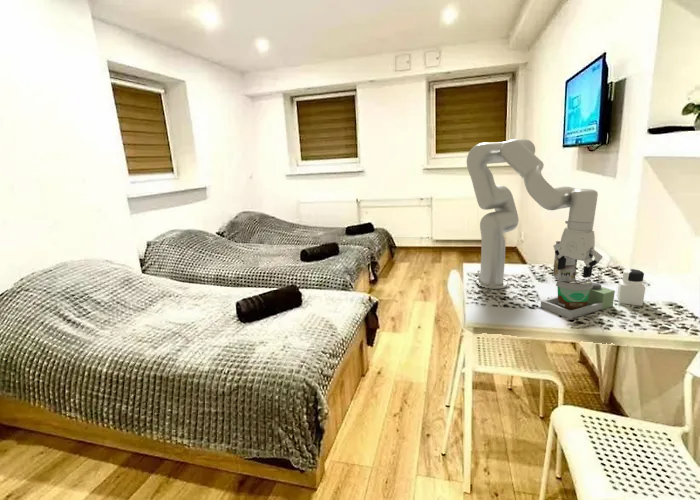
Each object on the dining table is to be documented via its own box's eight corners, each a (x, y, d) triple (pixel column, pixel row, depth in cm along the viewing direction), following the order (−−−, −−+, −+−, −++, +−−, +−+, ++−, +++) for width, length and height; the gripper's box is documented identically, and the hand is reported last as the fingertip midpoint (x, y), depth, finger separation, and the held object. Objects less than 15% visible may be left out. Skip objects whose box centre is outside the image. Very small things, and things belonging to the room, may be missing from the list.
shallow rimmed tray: (540, 306, 138) (542, 289, 136) (581, 295, 146) (583, 278, 144) (570, 319, 127) (572, 299, 125) (612, 306, 135) (615, 288, 134)
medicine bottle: (639, 299, 140) (644, 268, 137) (642, 306, 134) (647, 274, 131) (616, 296, 144) (620, 266, 141) (618, 303, 138) (622, 272, 135)
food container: (563, 312, 131) (566, 285, 128) (553, 306, 137) (556, 280, 134) (598, 310, 131) (601, 283, 129) (587, 304, 137) (590, 278, 135)
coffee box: (575, 281, 161) (579, 245, 157) (559, 281, 162) (562, 245, 158) (568, 275, 170) (571, 240, 166) (552, 274, 171) (555, 240, 167)
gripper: (550, 222, 134) (544, 267, 139) (597, 231, 119) (590, 282, 124) (564, 220, 137) (559, 264, 142) (613, 229, 122) (604, 278, 127)
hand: (573, 272), depth 133 cm, fingers open, 9 cm apart
